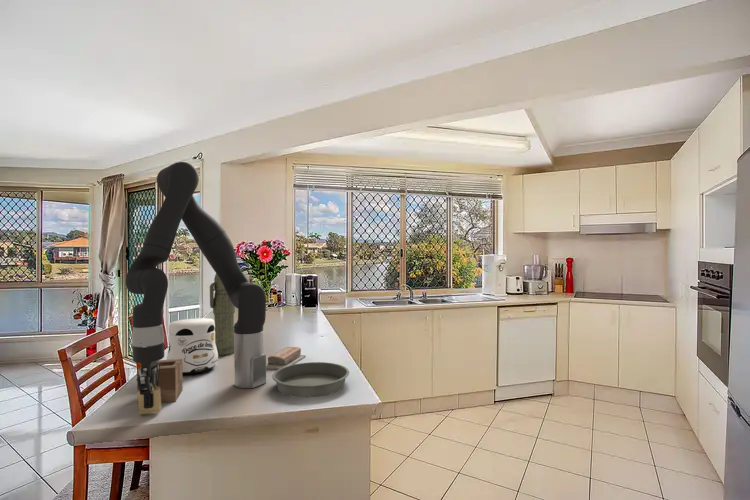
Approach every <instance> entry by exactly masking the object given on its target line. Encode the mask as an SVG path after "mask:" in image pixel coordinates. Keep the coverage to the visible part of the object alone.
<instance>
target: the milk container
mask: <svg viewBox="0 0 750 500" xmlns="http://www.w3.org/2000/svg"><path fill="white" fill-rule="evenodd" d="M168 343H169V344H168V351H167V355H166V359H165V360H171V359H182V374H183V375H193V374H199V373H204V372H207V371H210V370H212V369H213V368H215V367H216V365H217V363H218V359H219V356H218V351H217V348H216V344H215V322H214V318H210V317H209V318H207V317H202V318H201V317H200V318H199V317H198V318H185V319H178V320H175V321H174V320H173V321H171V322H170V323H169V325H168Z"/></svg>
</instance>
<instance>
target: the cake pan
mask: <svg viewBox="0 0 750 500" xmlns="http://www.w3.org/2000/svg"><path fill="white" fill-rule="evenodd" d="M348 376H350V370H349V369H348V368H347V367H346V366H344V365H341V364H338V363H334V362H327V361H326V362H321V361H318V362H317V361H313V362H311V361H310V362H300V363H295V364H294V365H290V366H286V367H283V368H281V369H276V371H275V372H273V374H272V376H271V379H272V380H273V381H274V383H276V387H277V390H278V392H279V393H280V394H283V395H285V396H289V397H295V398H315V397H322V396H327V395H331V394H334V393H336V392H339V391H340V390H342V389H343V388H344V387H345V383H346V378H348Z"/></svg>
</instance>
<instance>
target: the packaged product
mask: <svg viewBox="0 0 750 500" xmlns="http://www.w3.org/2000/svg"><path fill="white" fill-rule="evenodd" d="M301 352H302V349H301V347H298V346H287V347H284V348H282V349H280V350H278V351H277V352H275V353H273V354H271V355H268V357H267V361H266V370H270V369H271V370H279V369H281V368H283V367H286V366H290V365H294V364H298V362H300V361H301V360H303V359H304V358H306V355H304V354H302V353H301Z"/></svg>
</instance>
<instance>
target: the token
mask: <svg viewBox="0 0 750 500" xmlns="http://www.w3.org/2000/svg"><path fill="white" fill-rule="evenodd" d="M145 390H146V389H145ZM153 391H154V392H153V407H152V408H147V409H145V408H144V395H140V391H138V392H137V391H136V392H137V394H138V397H137V406H138V407H137V409H138V415H146V414H152V413H159V412H161V410H162V403H161V390H160V387H154V388H153ZM137 394H136V395H137Z"/></svg>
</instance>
